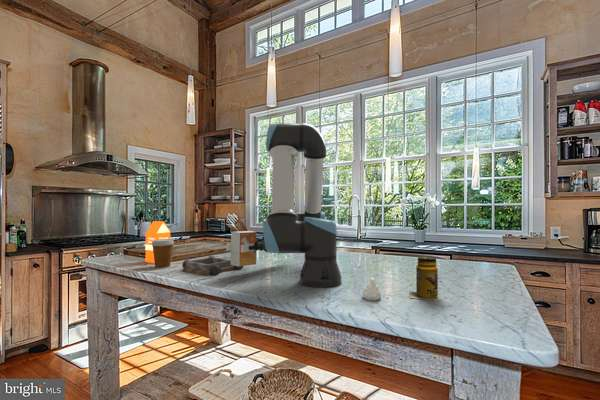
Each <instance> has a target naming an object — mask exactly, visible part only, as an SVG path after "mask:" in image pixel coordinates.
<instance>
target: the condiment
mask: <svg viewBox="0 0 600 400" xmlns="http://www.w3.org/2000/svg"><path fill="white" fill-rule="evenodd" d="M415 269H416V270H415V271H416V274H415V275H416V278H415V279H416V284H415V285H416V287H415V288H416V289H415V290H416V291H413V290H411V291H410V290H408V295H409V296H408V297H409V299H415V300H416V299H418V300H423V301H424V300H425V301H436V302H440V301H441V299H440V297H439V290H438V289H439V282H438V280H439V279H438V278H439V277H438V274H439V273H438V267H437V258H436V257H432V256H418V257H417V265H416V267H415Z"/></svg>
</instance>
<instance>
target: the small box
mask: <svg viewBox="0 0 600 400" xmlns="http://www.w3.org/2000/svg"><path fill="white" fill-rule="evenodd" d="M230 236H231V237H230V243H231V250H230V260H231V265H234V266H239V267H240V266H244V267H245V266H253V265H256V264H257V251H256V250H255V249H254V251H248V252H241V245H245V244H254V245H255V242H256V240H257V231H252V230H241V231H238V230H237V231H231V233H230Z"/></svg>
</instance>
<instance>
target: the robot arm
mask: <svg viewBox="0 0 600 400" xmlns="http://www.w3.org/2000/svg"><path fill="white" fill-rule="evenodd" d="M265 139H266V140H265V149H266V151H267V152H268V153H269V156H270V157H271V158H272V178H271V179H272V181H271V182H272V183H271V184H272V185H271V186H272V187H271V212H270V213H269V214H268V215H267V216H266V218H267V219H266V220H264V221H262V230H263V236H262V237H261V238H260V239H259V238H258V239H256V242H255V245H254V244H245V245H241V252H248V251H254V249H255V250H256V252H257V251H260V252H261V251H264V252H266V253H271V254H278V255H280V254H304V261H303V264H302V268H301V270H300V273H299V283H300V284H302V285H303V286H306V287H314V288H315V287H316V288H330V287H335V286H340V285H341V284H342V274H341V271H340V267H339V265H338V261H337V260H338V259H337V251H338V250H337V235H338V233H337V224H336V222H335V221H333V220H331V219H326V216H325V215H326V213H325V212H324V211H322V198H323V197H322V194H323V179H324V178H323V174H324V159H326V157H327V147H326V146H327V145H326V142H325V139H324V137H323V134H321V131H320V130H318V128H316V127H315V126H314V125H312V124H310V123H304V122H303V123H282V122H278V123H270V124H269V126H268V128H267V131H266V138H265ZM299 153H303V158H304V159H305V186H304V188H305V189H304V190H305V191H304V193H305V194H304V211H295V159H296V158H298V156H299ZM225 245H226V247H225V249H226V252H227V251H228V252H229V251H230V252H231V242H230V243H226V244H225Z"/></svg>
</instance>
